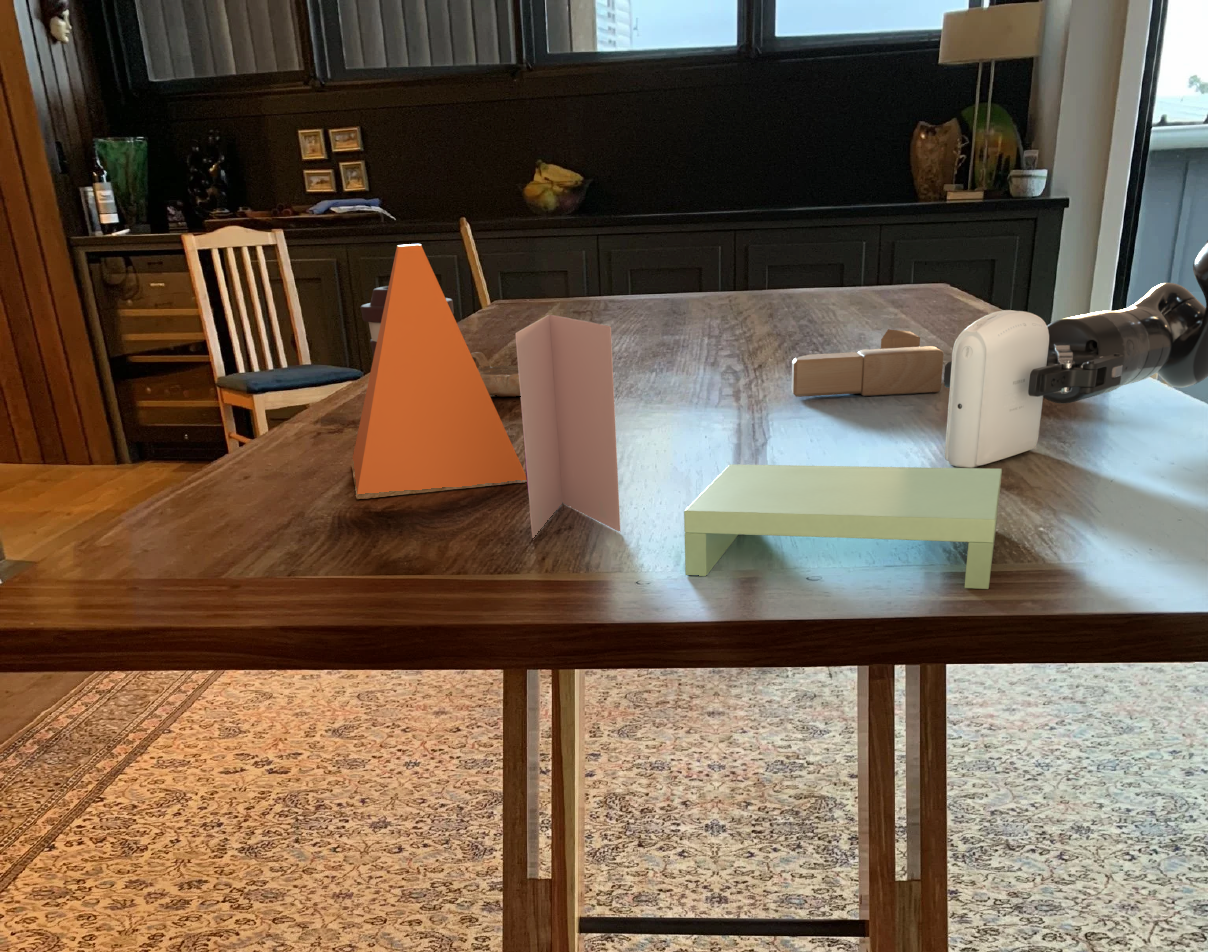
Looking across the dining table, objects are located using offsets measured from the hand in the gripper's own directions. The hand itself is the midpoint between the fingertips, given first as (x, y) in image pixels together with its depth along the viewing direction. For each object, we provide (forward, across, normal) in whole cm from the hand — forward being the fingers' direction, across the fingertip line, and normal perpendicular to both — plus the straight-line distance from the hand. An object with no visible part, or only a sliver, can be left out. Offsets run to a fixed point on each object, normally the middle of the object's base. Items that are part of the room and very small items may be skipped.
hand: (988, 379), depth 105 cm
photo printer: (-2, 0, -7) cm, 7 cm away
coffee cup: (+23, +58, -7) cm, 63 cm away
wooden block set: (-26, +35, -7) cm, 44 cm away
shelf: (+30, -9, -7) cm, 32 cm away
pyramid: (+34, +38, -7) cm, 51 cm away
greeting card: (+36, +13, -7) cm, 39 cm away
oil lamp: (+3, +69, -7) cm, 70 cm away
